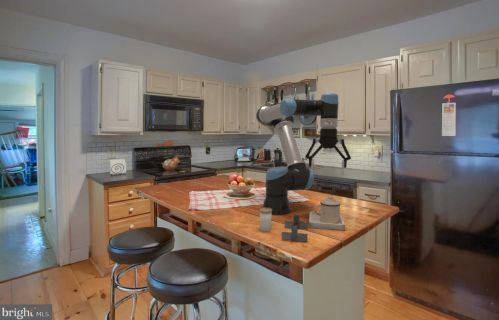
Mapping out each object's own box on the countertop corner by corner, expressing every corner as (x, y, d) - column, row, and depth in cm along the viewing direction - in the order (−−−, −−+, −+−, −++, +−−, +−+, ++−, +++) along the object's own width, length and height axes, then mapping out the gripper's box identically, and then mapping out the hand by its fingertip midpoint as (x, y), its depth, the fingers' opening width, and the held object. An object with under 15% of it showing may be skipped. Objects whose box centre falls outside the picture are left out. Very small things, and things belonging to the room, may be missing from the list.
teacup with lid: (339, 218, 133) (340, 195, 132) (340, 225, 124) (341, 199, 123) (313, 216, 136) (314, 193, 135) (312, 222, 127) (313, 197, 126)
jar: (258, 231, 119) (258, 210, 119) (260, 226, 125) (260, 207, 124) (270, 232, 118) (271, 211, 117) (272, 227, 123) (272, 207, 123)
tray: (309, 228, 123) (309, 222, 123) (309, 216, 141) (309, 211, 140) (344, 230, 120) (344, 225, 120) (340, 218, 137) (340, 213, 137)
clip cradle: (281, 240, 109) (281, 225, 109) (285, 227, 124) (285, 214, 124) (307, 242, 107) (307, 227, 107) (307, 229, 122) (308, 215, 121)
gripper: (300, 128, 126) (299, 174, 128) (358, 128, 120) (356, 176, 123) (301, 128, 133) (300, 172, 136) (356, 128, 128) (354, 174, 130)
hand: (327, 174), depth 129 cm, fingers open, 13 cm apart
